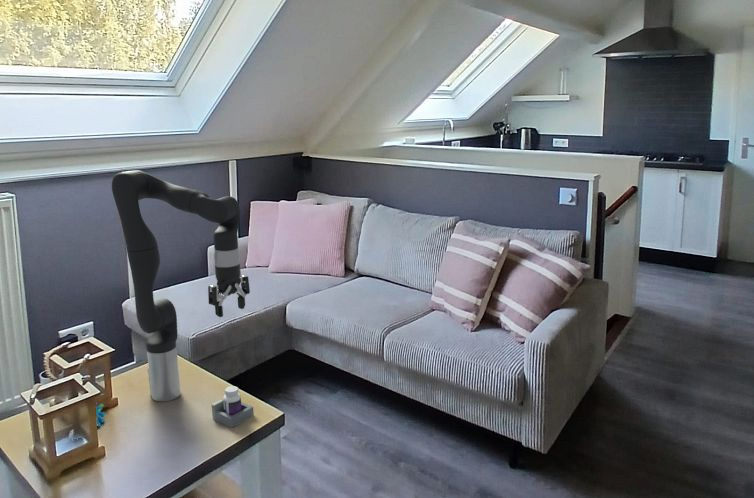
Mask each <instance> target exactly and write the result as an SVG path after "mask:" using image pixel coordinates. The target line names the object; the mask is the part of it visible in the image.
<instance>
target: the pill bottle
mask: <svg viewBox="0 0 754 498" xmlns="http://www.w3.org/2000/svg"><path fill="white" fill-rule="evenodd" d="M222 399H223V404H224V413H226V414H228V415H230V416H233V415H235V414H236V413H238V412H240V411H242V406H241V402H242V396H241V394H240V393H239V387H238V386H235V385H231V386H227V387H225V388H224V395H223V397H222Z"/></svg>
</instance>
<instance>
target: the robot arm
mask: <svg viewBox="0 0 754 498" xmlns="http://www.w3.org/2000/svg"><path fill="white" fill-rule="evenodd" d="M111 192H112V195H113V199H114V202H115V205H116V209H117V212H118V216H119V219H120V222H121V228H122V232H123V236H124V240H125V247H126V254H127V259H128V262H129V267H130V272H131V277H132V278H131V279H132V284H133V291H134V304H135V312H136V313H135V314H136V319H137V323H138V324H139V327H140V329H141V330H142V331H143V332H144V333H146V334H151V335H150V337H148V339H147V340H146V342H145V346H146V347H145V348H146V357H147V363H148V364H147V365H148V369H147V374H148V375H147V376H148V384H149V391H150V392H149V394H150V395H151V399H152V400H153V401H156V402H161V403H162V402H163V403H164V402H170V401H173V400H175V399H176V398H179V396H181V394H182V393H181V392H182V391H181V382H180V381H181V379H180V370H179V361H178V351H177V349H178V348H177V340H178V318H177V317H178V316H177V311H176V307H175V305H174V304H173V302H172V301H171V300H169V299H168V298H160V299H157V300H154V286H155V282H156V278H157V276H158V273H159V268H160V264H161V256H160V251H159V246H158V241H157V239H156V236H155V235H154V233H153V231H152V230H151V228H149V226H148V225H147V224H146V222H145V221H144V218H143V217H142V213H141V209H140V203H139V202H140V201H141V200H143V199H154V200H159V201H162V202H165V203H167V204H168V205H170V206H171V207H173V208H174V209H177V210H179V211H182V212H186V213H189V214H194V215H198V216H199V217H201V218H202V219H204V220H207V221H209V222H211V223H217V224H218V227H217V228H216V230H215V231H214V232H213V246H214V247H213V248H214V251H213V252H214V254H213V257H214V258H213V260H214V274H215V279H216V284H214V285H211V284H209V285H208V287H207V292H208V293H207V294H208V297H207V299H208V304H209V305H211V306H214V309H215V311H214V312H215V316H217V317H219V318H222V317H224V311H223V310H224V309H223V308H224V307H223V302H224V300H226V299H227V297H229V296H231V295H233V294H236V296H237V306H238V309H241V310H244V309H245V307H246V298H245V297H246V296H247V295H249V294H250V291H251V289H250V282H249V281H250V280H249V276H247V275H243V274H242V273H241V259H240V250H239V242H238V230H239V228H240V227H239V226H240V218H241V207H240V204H239V201H238V200H237V199H236V198H235V197H233V196H230V195H229V196H228V195H226V196H223V197H220V198H217V199H216V198H215V199H214V198H211V197H210V196H209V195H208V194H207V193H206V192H204V191H201V190H200V191H199V190H197V189H192V188H188V187H185V186H181V185H177V184H174V183H171V182H168V181H166V180H163V179H160V178H158V177H156V176H154V175H152V174H150V173H149V172H145V171H142V170H140V169H139V170H137V169H136V170H135V169H134V170H128V171H123V172H118V173H116V174H115V175H114V176H113V178H112V181H111Z"/></svg>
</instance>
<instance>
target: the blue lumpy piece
mask: <svg viewBox="0 0 754 498" xmlns="http://www.w3.org/2000/svg"><path fill="white" fill-rule="evenodd" d="M97 404H98V402H96V405H97ZM104 406H105V404H103V403H101V404H100V405H98V406H95V407H96V415H97V424H98V427H97V428H100V427H101V426H102V424H103V422H105V421H106V419H105V418H104V417H105V415H106V413H105V412H104V411H103V412H102V410H103V407H104ZM99 426H100V427H99Z"/></svg>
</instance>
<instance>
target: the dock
mask: <svg viewBox="0 0 754 498" xmlns="http://www.w3.org/2000/svg"><path fill="white" fill-rule="evenodd" d="M241 406H242V411H240V412H238V413H236V414H235V415H233V416H230V415H228V414H226V413H224V404H223V398H221V399H219V400H217V401H215V402H213V403H212V404H211V413H212V414H211V415H212V419H213V420H215V421H216V422H219V423H221V424H222V425H225V426H227V427H229V428H234V427H236V426H238V425H240V424H241V423H243V422H244V421H246V420H249V419H250V418H252V417H254V416H255V413H254V406H252V405H250V404H248V403H245V402H243V401H241Z"/></svg>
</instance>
